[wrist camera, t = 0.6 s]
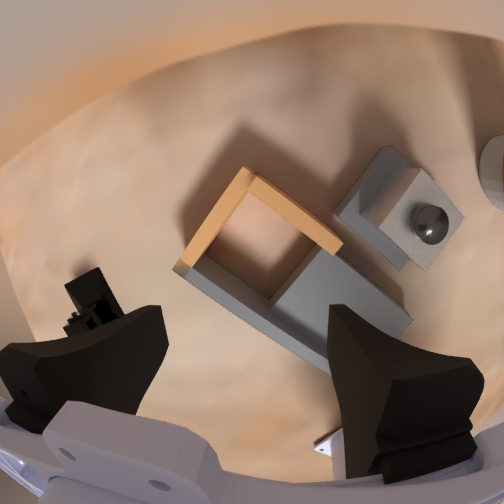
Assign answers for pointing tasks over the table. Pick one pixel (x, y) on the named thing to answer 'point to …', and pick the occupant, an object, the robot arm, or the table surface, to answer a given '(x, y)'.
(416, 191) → the metal block
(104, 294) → the black boxy piece
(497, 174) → the coffee cup
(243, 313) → the rail
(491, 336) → the table surface
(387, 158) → the gray square block
